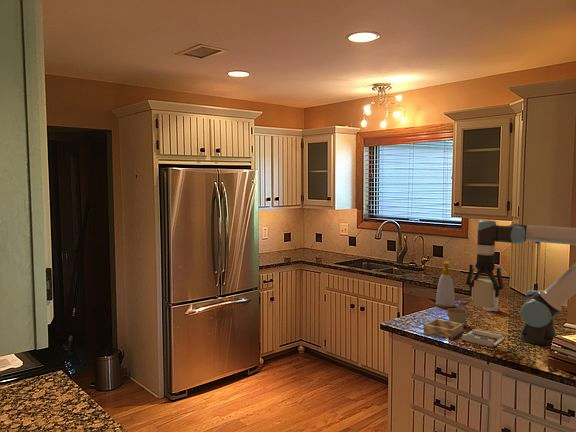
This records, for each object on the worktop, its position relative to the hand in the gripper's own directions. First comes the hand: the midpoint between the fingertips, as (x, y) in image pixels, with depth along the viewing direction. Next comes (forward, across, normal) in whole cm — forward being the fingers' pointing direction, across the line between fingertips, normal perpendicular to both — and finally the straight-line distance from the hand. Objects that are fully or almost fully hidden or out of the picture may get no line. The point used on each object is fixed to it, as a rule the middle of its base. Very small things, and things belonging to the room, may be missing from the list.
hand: (483, 302), depth 221 cm
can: (+2, 0, 0) cm, 2 cm away
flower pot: (+18, +18, -15) cm, 29 cm away
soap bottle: (+18, +38, -49) cm, 64 cm away
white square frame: (+17, 0, 0) cm, 17 cm away
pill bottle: (+18, +14, -57) cm, 61 cm away
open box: (+17, +18, +2) cm, 25 cm away
